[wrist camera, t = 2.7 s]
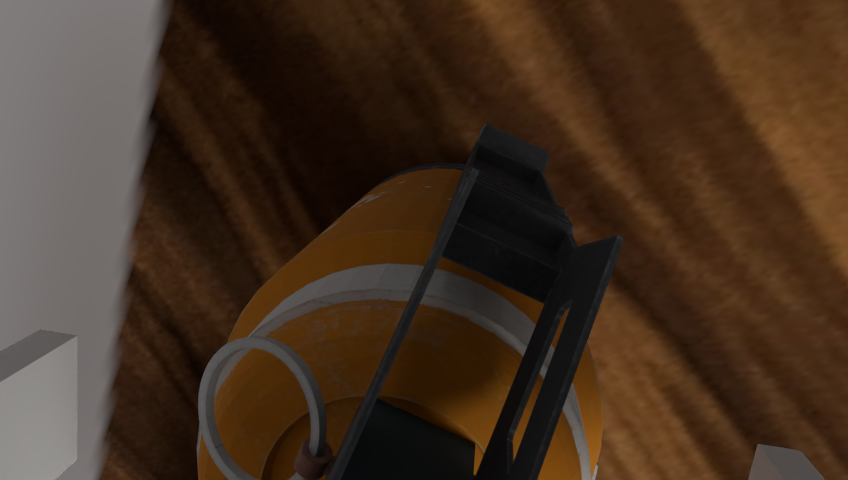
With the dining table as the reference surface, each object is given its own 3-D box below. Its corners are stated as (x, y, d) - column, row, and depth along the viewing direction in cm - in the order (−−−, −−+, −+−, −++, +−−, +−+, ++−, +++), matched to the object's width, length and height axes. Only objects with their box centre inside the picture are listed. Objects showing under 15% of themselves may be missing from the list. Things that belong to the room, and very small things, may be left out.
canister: (307, 315, 29) (-74, 792, 10) (411, 73, 26) (164, 61, 7) (497, 403, 29) (495, 1055, 10) (622, 170, 26) (967, 433, 7)
